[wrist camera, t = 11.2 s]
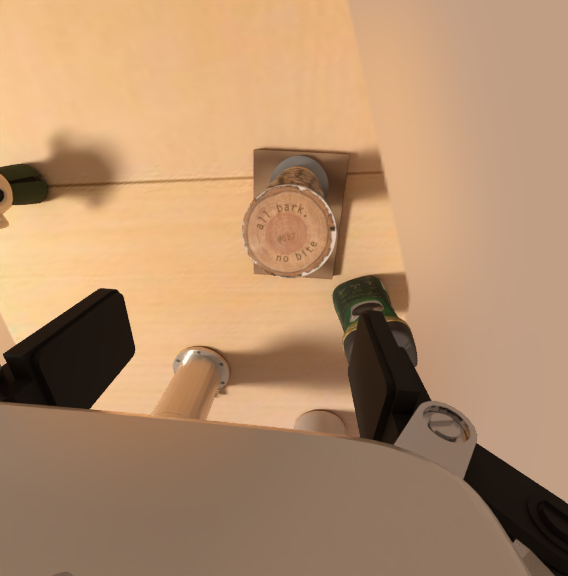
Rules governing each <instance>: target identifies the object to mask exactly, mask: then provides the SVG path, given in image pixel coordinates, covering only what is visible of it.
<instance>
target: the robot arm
mask: <svg viewBox="0 0 568 576" xmlns="http://www.w3.org/2000/svg"><path fill="white" fill-rule="evenodd" d="M134 353H135V345H134V340H133V336H132V332H131V327H130V323H129V319H128V314H127V310H126V305H125V301H124V297H123V295H122V294H121V293H119V291H118V290H116V289H104V288H100V289H98V290H97V291H95V292H94V293H92V294H91V295H89V296H88V297H86V298H85V299H83V300H82V301H80V302H79V303H77V304H76V305H74V306H73V307H71V308H70V309H69V310H67V311H66V312H64V313H63V314H61V315H60V316H58V317H57V318H55V319H54V320H52V321H51V322H49V323H48V324H46V325H45V326H43V327H42V328H40V329H39V330H38V331H36V332H35V333H33V334H32V335H30V336H29V337H27V338H26V339H24V340H23V341H21V342H20V343H18V344H17V345H15V346H14V347H12V348H11V349H10V350H8V351H7V352H5V353H4V354H3V356H4V358H5V360H6V362H7V363H6V364H5V365H3V366H2V367H1V365H0V576H568V504H567V503H565V501H563V500H562V499H560V498H559V497H557V496H556V495H554V494H553V493H551V492H549V491H548V490H547V489H545V488H544V487H542V486H540V485H539V484H537V483H536V482H534V481H533V480H531V479H530V478H528V477H527V476H525V475H524V474H522V473H521V472H519V471H518V470H516V469H515V468H513V467H512V466H510V465H509V464H507V463H506V462H504V461H503V460H501V459H499V458H498V457H497V456H495V455H494V454H492V453H490V452H489V451H488V450H486V449H485V448H483V447H482V446H480V445H479V444H477V443H476V442H477V433H476V430H475V427H474V426H473V425H472V423H471V422H470V420H469V419H468V418H467V417H466V416H465V415H463V414H462V413H461V412H460V411H458V410H457V409H455V408H454V407H451V406H449V405H447V404H445V403H440V402H437V401H431V399H430V397H429V395H428V393H427V391H426V389H425V387H424V385H423V383H422V381H421V379H420V377H419V375H418V373H417V372H416V369H415V367H414V365H413V364H412V362H411V360H410V358H409V356H408V354H407V352H406V350H405V349H404V348H403V347H400V346H398V344H397V342H396V340H395V338H394V336H393V334H392V332H391V330H390V327H389V325H388V323H387V321H386V319H385V317H384V315H383V313H382V312H381V311H373V310H366V311H365V313H360V315H359V319H358V324H357V329H356V333H355V338H354V343H353V348H352V352H351V357H350V362H349V367H348V376H349V382H350V387H351V392H352V397H353V402H354V407H355V412H356V417H357V422H358V427H359V432H360V438H358V437H351V436H345V435H338V434H330V433H322V432H313V431H304V430H295V429H286V428H276V427H267V426H257V425H247V424H237V423H227V422H218V421H207V420H206V419H207V416H208V414H209V411H210V408H211V405H212V403H213V400H214V397H215V394H216V392H217V390H219V389H221V388H222V387H224V386H225V385H226V383H227V382H228V379H229V375H230V369H229V366H228V364H227V362H226V361H225V359H224V358H223V357H222V356H221V355H220V354H218V353H216V352H215V351H213V350H210V349H207V348H204V347H191V348H187V349H185V350H183V351H181V352H180V353H179V354H178V355H177V357H176V358H175V360H174V363H173V369H174V373H175V374H174V376H173V378H172V380H171V381H170V383H169V385H168V387H167V388H166V390H165V392H164V394H163V395H162V397H161V399H160V401H159V402H158V404H157V406H156V407H155V409H154V411H153V413H152V414H151V415H145V414H135V413H124V412H113V411H102V410H91V409H90V408H91V407H92V405H93V404H94V403H95V402H96V401H97V399H98V398H99V397H100V396H101V395H102V393H103V392H104V391H105V390H106V389H107V387H108V386H109V385H110V384H111V383H112V381H113V380H114V379H115V378H116V376H117V375H118V374H119V373H120V372H121V370H122V369H123V368H124V367H125V366H126V364H127V363H128V362H129V361H130V360H131V358H132V357H133V356H134Z"/></svg>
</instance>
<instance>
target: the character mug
mask: <svg viewBox="0 0 568 576" xmlns="http://www.w3.org/2000/svg"><path fill="white" fill-rule="evenodd" d="M38 175H40V174H39V173H38V172H37V171H36V170H35V169H33V168H32V167H30V166H27V165H24V164H16V165H9V166H3V167H0V229H2V228H5V227H7V226H9V223H8V221H7V219H6V218H5V217H4V216H3V213H5V212H6V211H7V210H8V209H9V208H10V207H11V206H12V205H27V204H36V203H41V202H42V201H43V200H44V199H46V196H47V187H46V183H45V181H37V179H36V178H35V177H34V176H38Z"/></svg>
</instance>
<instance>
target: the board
mask: <svg viewBox="0 0 568 576" xmlns="http://www.w3.org/2000/svg"><path fill="white" fill-rule="evenodd" d="M348 161H349V154H332V153H314V152H295V151H276V150H257V149H254V199H255V198H256V197H257V196H258V195H259V194H260V193H261V192H262V191H263V190H264V189H265V188H266V187H267V186H268V185H269V184H270V183H271V182H272V181H273V180H275V179H276V178H277V177H278V176H279V175H280V174H281V173H282V172H283V171H284V170H286V169H288V168H290V167H293V166H302V167H305V168H308V169H309V170H311V171H312V172H313V173H314V174H315V176H316V177H317V179H318V181H319V183H320V185H321V188H322V190H323V192H324V194H325V197H326V199H327V201H328V203H329V206H330V208H331V210H332V213H333V215H334V218H335V223H336V241H335V245H334V248H333V251H332V253H331V255H330V256H329V258H328V259H327V260H326V262H325V263H324V264H323V265H322V266H321V267H320V268H318V269H317V270H316V271H314V272H312V273H310V274H308V275H305V276H302V277H306V278H320V279H332V277H333V270H334V262H335V255H336V248H337V241H338V233H339V226H340V219H341V212H342V205H343V197H344V190H345V183H346V176H347V168H348ZM254 274H264V275H271V274H269V273H267V272H265V271H264V270H262V269H261V268H259V267H258V266H257V265H256V264H255V263H254Z"/></svg>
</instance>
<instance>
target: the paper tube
mask: <svg viewBox="0 0 568 576" xmlns="http://www.w3.org/2000/svg"><path fill="white" fill-rule="evenodd" d="M242 238H243V243H244V246H245V249H246V251H247V253H248V255H249V257H250V258H251V259H252V261H253V262H254V263H255V264H256V265H257V266H258V267H259V268H261V269H262V270H264V271H265V272H267V273H269V274H271V275H274V276H277V277H282V278H298V277H302V276H305V275H308V274H310V273H312V272H314V271H316V270H317V269H318V268H320V267H321V266H322V265H323V264H324V263H325V262H326V260H327V259H328V258H329V256H330V255H331V253H332V251H333V248H334V245H335V241H336V223H335V218H334V215H333V213H332V210H331V208H330V206H329V203H328V201H327V199H326V197H325V194H324V192H323V190H322V188H321V185H320V183H319V181H318V179H317V177H316V176H315V174H314V173H313V172H312V171H311V170H309V169H308V168H305V167H302V166H293V167H290V168H288V169H286V170H284V171H283V172H282V173H281V174H280V175H279V176H278V177H277V178H276V179H275V180H273V181H272V182H271V183H270V184H269V185H268V186H267V187H266V188H265V189H264V190H263V191H262V192H261V193H260V194H259V195H258V196H257V197H256V198H255V199H254V200H253V202H252V203H251V204H250V206H249V208H248V209H247V211H246V214H245V216H244V219H243V224H242Z"/></svg>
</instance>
